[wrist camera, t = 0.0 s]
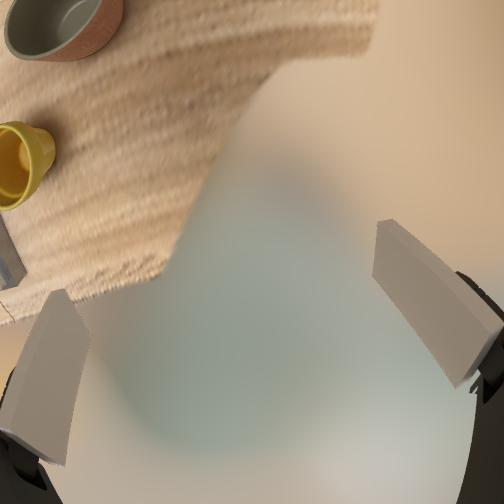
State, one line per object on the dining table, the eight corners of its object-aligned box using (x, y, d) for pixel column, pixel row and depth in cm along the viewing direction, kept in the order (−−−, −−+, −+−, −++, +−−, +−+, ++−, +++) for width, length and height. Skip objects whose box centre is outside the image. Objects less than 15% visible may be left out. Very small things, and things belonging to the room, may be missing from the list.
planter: (143, 34, 25) (122, 11, 16) (61, 83, 26) (17, 84, 16) (117, -29, 19) (93, -62, 9) (39, 19, 19) (-4, 6, 10)
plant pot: (29, 102, 25) (-12, 110, 17) (79, 135, 30) (45, 149, 22) (4, 165, 28) (-34, 187, 20) (50, 197, 33) (17, 227, 25)
